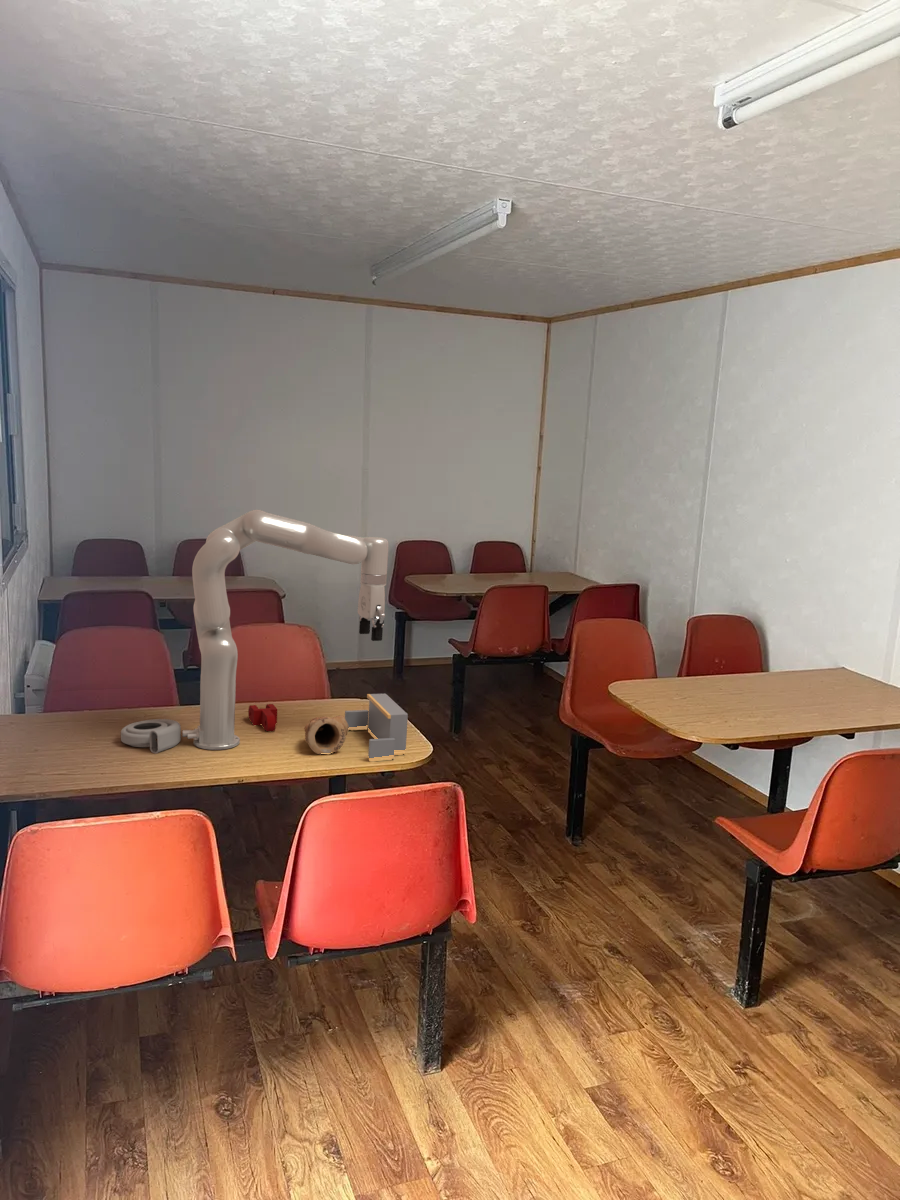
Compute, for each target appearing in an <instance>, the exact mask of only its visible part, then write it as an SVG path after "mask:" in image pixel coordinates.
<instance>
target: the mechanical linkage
mask: <svg viewBox="0 0 900 1200" xmlns="http://www.w3.org/2000/svg"><path fill="white" fill-rule="evenodd" d="M247 710H248V712H247V713H248V719H250V720H251V721H250V720H249V721H250V723H251V722H252V723H253V724H252V723H251V724H252V725H258V726H261V727H262V726H263V727H264V728H263V727H262V728H263V729H264V730H266V731H271V732H275V731H276V727H277V724H278V708H277V707H276V706H275V705H274V703H269V704H268V703H267V704H266V705H265V707H263V708H259V707H258V706H257V705H256V704H251V705H248V709H247ZM276 723H277V724H276ZM260 724H262V725H260ZM266 731H265V732H266Z"/></svg>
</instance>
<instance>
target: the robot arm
mask: <svg viewBox="0 0 900 1200" xmlns="http://www.w3.org/2000/svg"><path fill="white" fill-rule="evenodd" d="M256 542H258V543H261V544H265V545H268V546H269V545H270V546H274V547H278V548H282V549H287V550H289V551H294V552H299V553H302V554H305V555H310V556H316V557H319V558H320V557H321V558H325V559H327V560H328V559H329V560H332V561H335V562H340V563H345V564H348V565H359V564H361V568H360V587H359V594H358V603H357V604H358V605H357V614H358V615H359V630H358V631H359V632H358V633H359V634H360V635H369V634H370V633H371V635H370V636H371V637H370V638H371V641H372V642H376V641H377V642H379V641H383V630H384V629H383V628H384V623H385V618H386V614H385V607H386V601H385V600H386V596H385V591H386V589H385V586H387V576H388V575H387V573H388V558H389V541H388V539H387V538H384V537H380V536H378V537H377V536H368V537H363V536H355V535H352V534H351V535H350V534H346V535H345V534H340V533H337V532H332V531H330V530H327V529H323V528H322V527H319V526H317V525H314V524H312V523H309V522H306V521H302V520H297V519H294V518H290V517H287V516H282V515H278V514H274V513H270V512H266V511H264V510H262V509H252V510H250V511H247V512H245V513H244V514H242V515H240V516H238V517H237V518H235V519H232V520H230V521H229V522H227V523H225V524H224V525H221V526H219V527H217V528H216V529H214V530H213V531H211V532H210V533H209V534H208V536H207V537H206V541H205V543H204V544H203V545H202V546H201V547H200V549H199V550H198V551H197V553H196V555H195V556H194V560H193V563H192V570H191V573H192V574H191V575H192V584H193V594H194V602H193V615H194V622H195V630H196V636H197V642H198V648H199V651H200V654H201V655H200V656H201V657H200V658H201V659H200V660H201V663H200V664H201V665H200V681H199V683H200V686H199V687H200V688H199V689H200V695H199V696H200V698H199V701H200V703H199V725H197V728H194V729H183V730H181V738H187V740H188V739H190V740H191V739H193V745H194V746H195V747H197V748H199V749H203V750H207V751H208V750H210V751H222V750H227V749H228V750H229V749H232V748H235V747H236V746H239V744H240V743H241V741H240V740H241V738H240V736H238V735H236V734H235V725H236V724H235V720H236V719H235V718H236V714H235V713H236V688H237V687H236V685H237V683H236V681H237V680H236V678H237V668H238V656H239V655H238V653H239V652H238V647H237V644H236V641H235V640H234V638H233V634H232V629H231V628H232V627H231V621H230V618H231V607H230V603H229V599H228V594H227V587H226V586H227V585H226V577H225V574H226V573H225V572H226V569H227V567H228V565H229V564H230V563H231V562H233V561H234V560H236V558H237V557H238V555H239V554H240V551H241V550H243V549H244V548H247V547H249V546H250V545H253V544H254V543H256ZM371 624H372V627H371ZM370 630H371V632H370Z"/></svg>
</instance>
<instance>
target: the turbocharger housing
mask: <svg viewBox="0 0 900 1200" xmlns="http://www.w3.org/2000/svg"><path fill="white" fill-rule="evenodd" d="M181 729H182V727H181V723H180V722H179V721H178V720H173V719H167V718H157V719H153V718H152V719H147V720H141V721H140V720H139V721H135V722H132V723H129V724H127V725H125V726H124V727H123V728H122V729H121V730H120V741H121V742H122V743H123V744H126V745H128V746H131V747H133V748H134V747H135V748H149V750H150V752H151V753H152V754H156V755H157V754H159V753H160V752H163V751H166V750H169V749H171V748H174V747H175V746H177V745H178V744H179V743H180V742H181V739H182V730H181ZM156 739H157V740H156Z"/></svg>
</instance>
